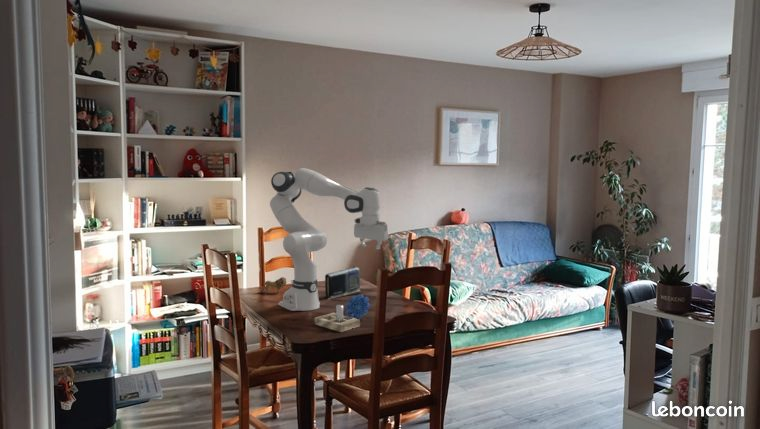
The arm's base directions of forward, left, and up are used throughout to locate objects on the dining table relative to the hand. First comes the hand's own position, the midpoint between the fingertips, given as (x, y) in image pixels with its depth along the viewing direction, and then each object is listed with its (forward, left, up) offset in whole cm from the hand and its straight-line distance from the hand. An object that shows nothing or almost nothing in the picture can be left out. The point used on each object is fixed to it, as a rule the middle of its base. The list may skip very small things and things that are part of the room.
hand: (370, 248), depth 278 cm
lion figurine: (-62, -11, -31) cm, 70 cm away
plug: (+11, -32, -31) cm, 46 cm away
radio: (-30, +11, -31) cm, 45 cm away
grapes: (+7, -16, -31) cm, 36 cm away
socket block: (+7, -30, -31) cm, 44 cm away
